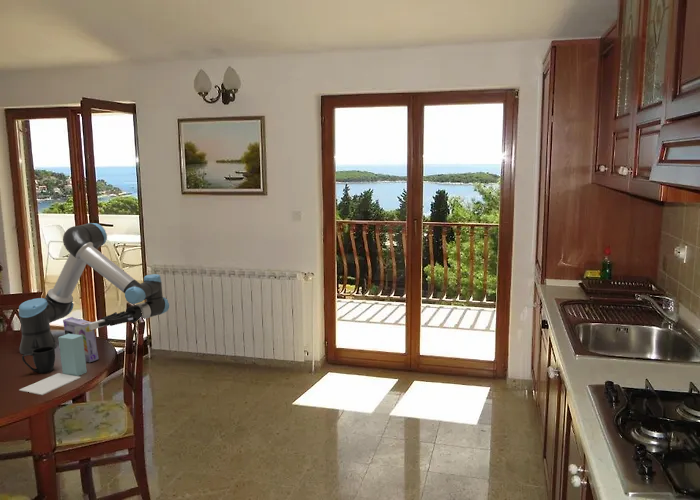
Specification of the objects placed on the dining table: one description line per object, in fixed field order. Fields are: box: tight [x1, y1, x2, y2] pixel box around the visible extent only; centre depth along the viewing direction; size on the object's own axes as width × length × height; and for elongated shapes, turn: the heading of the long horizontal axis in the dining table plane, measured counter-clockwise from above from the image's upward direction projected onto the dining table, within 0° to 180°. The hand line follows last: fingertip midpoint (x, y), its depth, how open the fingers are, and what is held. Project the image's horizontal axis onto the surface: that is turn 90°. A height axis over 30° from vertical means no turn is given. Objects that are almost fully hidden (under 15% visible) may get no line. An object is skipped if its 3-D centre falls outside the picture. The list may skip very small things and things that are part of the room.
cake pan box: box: [62, 316, 100, 363], centre depth 246 cm, size 19×5×18 cm, turn 54°
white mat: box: [18, 372, 81, 396], centre depth 219 cm, size 13×18×1 cm
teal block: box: [57, 334, 87, 377], centre depth 228 cm, size 8×5×16 cm, turn 67°
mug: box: [21, 346, 56, 374], centre depth 231 cm, size 8×12×10 cm
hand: (90, 326), depth 234 cm, fingers closed
